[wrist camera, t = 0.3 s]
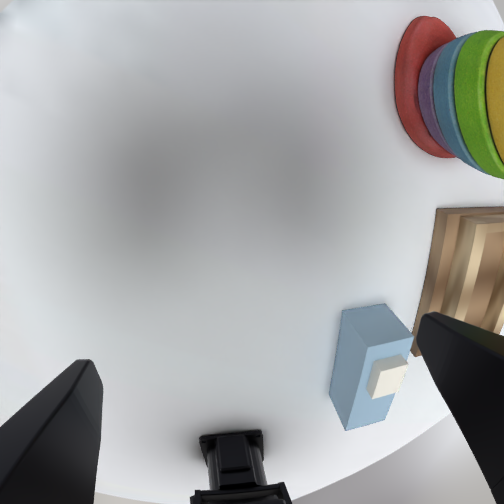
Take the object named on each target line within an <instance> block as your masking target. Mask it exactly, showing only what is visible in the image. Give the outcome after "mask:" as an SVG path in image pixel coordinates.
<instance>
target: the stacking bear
mask: <svg viewBox="0 0 504 504" xmlns="http://www.w3.org/2000/svg"><path fill="white" fill-rule="evenodd" d="M395 95H396V103H397V108H398V112H399V115H400V118H401V121H402V123H403V125H404V127H405V129H406V131H407V133H408V134H409V136H410V137H411V138H412V140H413V141H414V142H415V143H416V144H417V145H418V146H419V147H420V148H421V149H422V150H424V151H425V152H427V153H429V154H431V155H433V156H436V157H440V158H454V157H457V158H459V159H461V160H462V161H463V162H465V163H466V164H468V165H470V166H472V167H473V168H475V169H477V170H479V171H481V172H483V173H485V174H488V175H492V176H494V177H497V178H501V179H504V31H493V30H484V31H479V32H474V33H470V34H467V35H464V36H461V37H459V38H456V37H455V35H454V33H453V32H452V31H451V29H450V28H449V27H448V26H447V25H446V24H445V23H444V22H442V21H441V20H440V19H438V18H436V17H428V16H420V17H418V18H416V19H414V20H413V21H412V22H411V24H410V25H409V27H408V28H407V30H406V32H405V34H404V36H403V39H402V41H401V43H400V47H399V51H398V55H397V60H396V69H395Z"/></svg>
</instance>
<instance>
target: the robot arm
mask: <svg viewBox="0 0 504 504" xmlns="http://www.w3.org/2000/svg"><path fill="white" fill-rule="evenodd" d="M416 343H417V346H418V348H419V350H420V352H421V354H422V356H423V359H424V361H425V363H426V365H427V367H428V369H429V372H430V374H431V376H432V378H433V380H434V382H435V384H436V386H437V388H438V390H439V392H440V393H441V395H442V397H443V399H444V400H445V402H446V404H447V406H448V407H449V409H450V411H451V413H452V415H453V417H454V418H455V420H456V422H457V424H458V426H459V428H460V429H461V431H462V433H463V435H464V437H465V439H466V441H467V443H468V445H469V447H470V449H471V450H472V452H473V454H474V456H475V458H476V460H477V462H478V464H479V466H480V468H481V470H482V473H483V475H484V477H485V479H486V481H487V483H488V485H489V488H490V489H491V492H492V494H493V497H494V499H495V501H496V504H504V336H502V335H499V334H496V333H494V332H491V331H488V330H485V329H483V328H480V327H477V326H474V325H472V324H469V323H466V322H463V321H461V320H458V319H455V318H452V317H450V316H447V315H444V314H441V313H439V312H436V311H433V312H429V313H425V314H423V315H422V317H421V319H420V324H419V327H418V331H417V335H416ZM102 403H103V384H102V381H101V379H100V376H99V374H98V372H97V370H96V367H95V365H94V363H93V361H92V360H90V359H79V360H76V361H75V362H73V363H72V364H71V365H70V366H69V367H68V368H66V369H65V370H64V371H63V372H62V373H61V374H60V375H58V376H57V377H56V378H55V379H54V380H53V381H51V382H50V383H49V384H48V385H47V386H46V387H45V388H43V389H42V390H41V391H40V392H39V393H38V394H37V395H36V396H34V397H33V398H32V399H31V400H30V401H29V402H28V403H26V404H25V405H24V406H23V407H22V408H21V409H20V410H19V411H17V412H16V413H15V414H14V415H13V416H12V417H11V418H10V419H9V420H7V421H6V422H5V423H4V424H3V425H2V426H1V427H0V504H93V503H94V492H95V482H96V473H97V465H98V457H99V450H100V442H101V424H102ZM199 443H200V446H201V449H202V453H203V456H204V459H205V462H206V465H207V467H208V474H209V485H210V490H203V491H201V490H195V495H194V496H191V497H190V504H292V502H291V499H290V497H289V494H288V491H287V489H286V486H285V483H284V482H280V483H278V484H271V485H267V481H266V476H265V472H264V467H263V463H262V462H263V460H264V455H263V434H262V431H259V430H258V431H250V432H242V433H234V434H224V435H214V436H202V437H200V438H199Z"/></svg>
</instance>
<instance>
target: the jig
mask: <svg viewBox="0 0 504 504" xmlns="http://www.w3.org/2000/svg"><path fill="white" fill-rule="evenodd" d="M433 311H436V312H439V313H441V314H444V315H447V316H450V317H452V318H455V319H458V320H461V321H463V322H466V323H469V324H472V325H474V326H477V327H480V328H483V329H485V330H488V331H491V332H494V333H496V334H500V331H501V329H502V326H503V324H504V207H475V208H444V209H437V210H436V218H435V225H434V232H433V239H432V245H431V251H430V256H429V262H428V267H427V272H426V277H425V282H424V287H423V291H422V296H421V300H420V304H419V308H418V312H417V316H416V320H415V324H414V328H413V332H412V335H413V336H414V339H413V342H412V346H411V349H410V351H411V353H412V354H413V355H414V356H415V357H417V356H421V355H422V354H421V352H420V350H419V348H418V346H417V343H416V335H417V331H418V327H419V324H420V319H421V317H422V315H423V314H425V313H429V312H433Z"/></svg>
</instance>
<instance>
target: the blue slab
mask: <svg viewBox="0 0 504 504" xmlns="http://www.w3.org/2000/svg"><path fill="white" fill-rule="evenodd" d="M413 339H414V336H413V335H412V333H411V332H410V331H409V330H408V329H407V328H406V326H405V325H404V324H403V323H402V322H401V321H400V320H399V318H398V317H397V316H396V315H395V314H394V313H393V312H392V311H391V309H390V308H389V307H388V306H387V305H386V304H379V305H373V306H367V307H361V308H355V309H348V310H342V318H341V325H340V332H339V338H338V345H337V351H336V357H335V363H334V369H333V375H332V380H331V385H330V391H329V396H330V398H331V400H332V402H333V404H334V407H335V409H336V411H337V413H338V416H339V418H340V420H341V422H342V425H343V427H344V429H345V431H347V430H351V429H355V428H359V427H362V426H366V425H369V424H373V423H376V422H379V421H383V420H385V418H386V415H387V413H388V411H389V408H390V406H391V403H392V400H393V398H394V395H395V393H396V392H399V389H400V387H401V384H402V381H403V378H404V376H405V373H406V370H407V367H408V363H407V358H408V355H409V352H410V349H411V346H412V342H413Z"/></svg>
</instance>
